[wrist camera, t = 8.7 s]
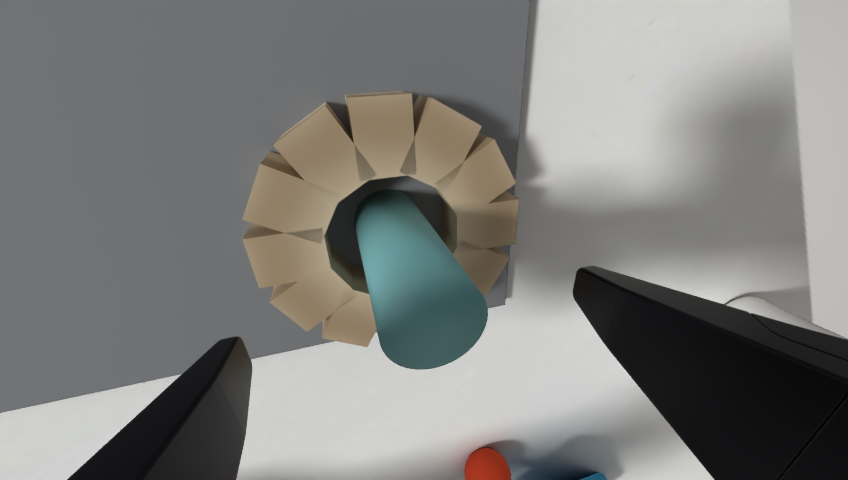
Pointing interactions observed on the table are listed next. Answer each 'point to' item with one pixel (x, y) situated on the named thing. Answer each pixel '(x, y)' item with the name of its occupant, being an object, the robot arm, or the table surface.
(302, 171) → the birch segmented ring
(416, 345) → the teal peg
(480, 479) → the lever
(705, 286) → the table surface
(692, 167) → the table surface
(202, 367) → the robot arm
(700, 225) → the table surface
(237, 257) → the charcoal mat
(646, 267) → the table surface
